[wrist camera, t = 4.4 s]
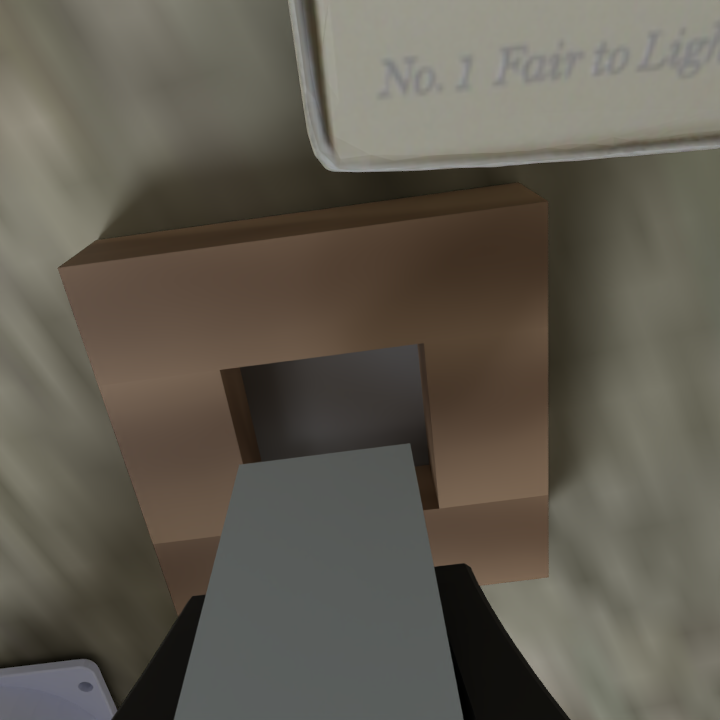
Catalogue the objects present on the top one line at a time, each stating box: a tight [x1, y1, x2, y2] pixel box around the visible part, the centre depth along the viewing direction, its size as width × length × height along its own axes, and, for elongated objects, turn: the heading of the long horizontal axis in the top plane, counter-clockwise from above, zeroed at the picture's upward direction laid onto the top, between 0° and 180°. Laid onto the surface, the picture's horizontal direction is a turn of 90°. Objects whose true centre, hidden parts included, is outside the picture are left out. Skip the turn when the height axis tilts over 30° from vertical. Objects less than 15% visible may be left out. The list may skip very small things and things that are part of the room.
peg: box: [174, 443, 463, 720], centre depth 11 cm, size 4×4×6 cm
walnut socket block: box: [58, 182, 549, 616], centre depth 17 cm, size 11×11×2 cm
